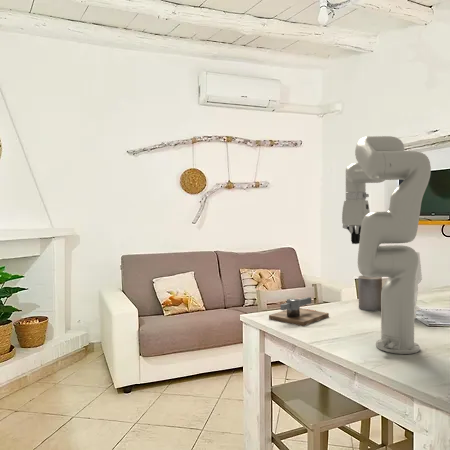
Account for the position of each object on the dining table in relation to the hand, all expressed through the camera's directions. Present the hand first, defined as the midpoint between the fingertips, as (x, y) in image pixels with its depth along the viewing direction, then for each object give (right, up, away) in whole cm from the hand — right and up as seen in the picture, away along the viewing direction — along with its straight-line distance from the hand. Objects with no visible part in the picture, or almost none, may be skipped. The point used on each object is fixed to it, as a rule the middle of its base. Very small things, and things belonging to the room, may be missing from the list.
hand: (355, 243), depth 175 cm
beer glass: (+20, -29, -1) cm, 35 cm away
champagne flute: (+28, -29, +13) cm, 42 cm away
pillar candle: (+11, -29, +15) cm, 34 cm away
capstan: (-24, -28, -1) cm, 36 cm away
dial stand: (-22, -29, 0) cm, 37 cm away
